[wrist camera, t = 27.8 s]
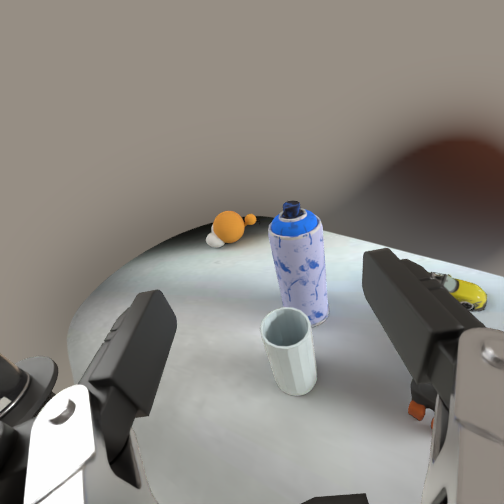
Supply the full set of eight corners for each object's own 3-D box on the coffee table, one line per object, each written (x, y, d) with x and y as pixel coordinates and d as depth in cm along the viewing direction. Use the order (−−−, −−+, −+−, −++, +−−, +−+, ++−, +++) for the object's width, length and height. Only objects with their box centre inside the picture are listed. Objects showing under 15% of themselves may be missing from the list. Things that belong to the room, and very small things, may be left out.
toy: (255, 232, 74) (207, 231, 72) (259, 206, 68) (206, 203, 66) (259, 252, 67) (205, 251, 65) (263, 224, 61) (204, 222, 59)
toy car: (484, 315, 33) (490, 300, 32) (403, 292, 40) (405, 278, 38) (487, 293, 36) (494, 278, 35) (411, 275, 43) (413, 261, 41)
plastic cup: (280, 401, 30) (265, 354, 25) (270, 360, 35) (256, 314, 30) (324, 389, 30) (318, 340, 25) (308, 349, 35) (301, 302, 30)
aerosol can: (339, 308, 40) (335, 197, 29) (307, 336, 37) (290, 223, 26) (304, 287, 46) (291, 189, 35) (274, 310, 43) (250, 209, 32)
